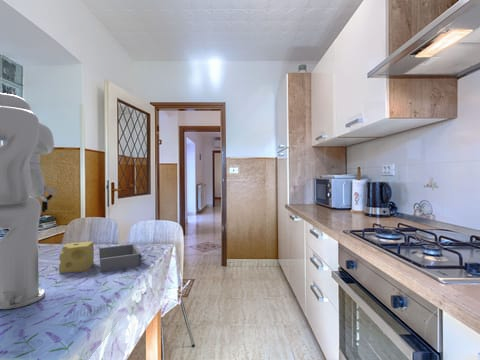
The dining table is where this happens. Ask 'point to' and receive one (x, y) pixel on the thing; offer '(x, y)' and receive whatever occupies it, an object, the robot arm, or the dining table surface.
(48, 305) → the dining table surface
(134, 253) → the bin
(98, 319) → the dining table surface
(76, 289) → the dining table surface
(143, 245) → the dining table surface
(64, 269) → the cheese
